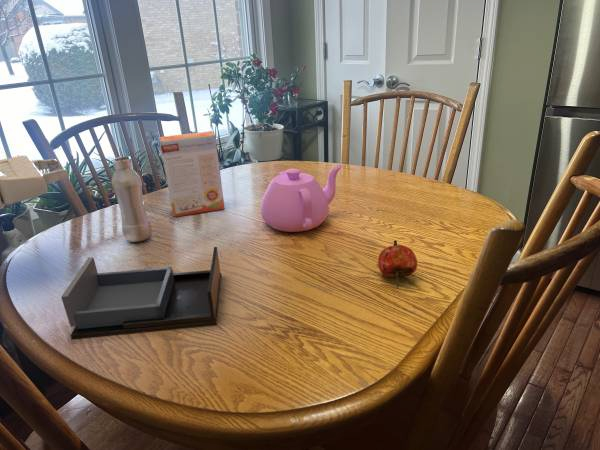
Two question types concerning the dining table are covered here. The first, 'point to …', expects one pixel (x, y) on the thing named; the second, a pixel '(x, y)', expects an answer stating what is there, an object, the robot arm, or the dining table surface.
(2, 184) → the robot arm
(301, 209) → the teapot
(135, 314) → the gray sliding drawer
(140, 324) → the base
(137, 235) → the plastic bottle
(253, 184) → the dining table surface
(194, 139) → the cracker box
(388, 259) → the pomegranate
